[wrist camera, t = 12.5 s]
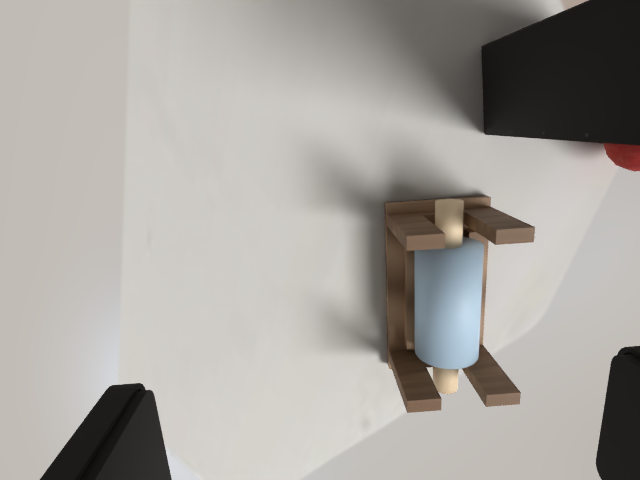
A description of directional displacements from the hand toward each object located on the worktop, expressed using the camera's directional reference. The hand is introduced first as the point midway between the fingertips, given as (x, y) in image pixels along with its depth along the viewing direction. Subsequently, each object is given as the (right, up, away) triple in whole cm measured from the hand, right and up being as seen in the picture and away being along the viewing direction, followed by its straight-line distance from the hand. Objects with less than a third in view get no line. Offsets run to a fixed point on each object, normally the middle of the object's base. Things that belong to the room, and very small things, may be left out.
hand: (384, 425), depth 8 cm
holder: (+11, -1, +34) cm, 36 cm away
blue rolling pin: (+11, -1, +33) cm, 35 cm away
